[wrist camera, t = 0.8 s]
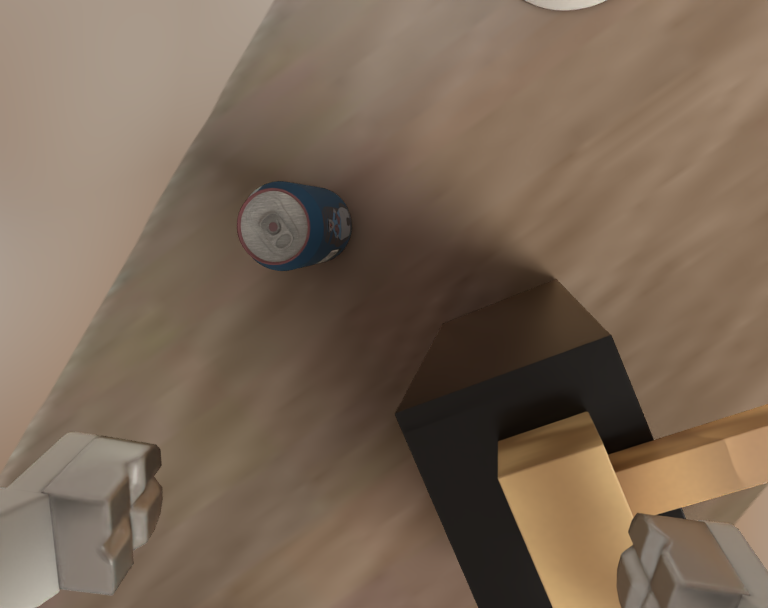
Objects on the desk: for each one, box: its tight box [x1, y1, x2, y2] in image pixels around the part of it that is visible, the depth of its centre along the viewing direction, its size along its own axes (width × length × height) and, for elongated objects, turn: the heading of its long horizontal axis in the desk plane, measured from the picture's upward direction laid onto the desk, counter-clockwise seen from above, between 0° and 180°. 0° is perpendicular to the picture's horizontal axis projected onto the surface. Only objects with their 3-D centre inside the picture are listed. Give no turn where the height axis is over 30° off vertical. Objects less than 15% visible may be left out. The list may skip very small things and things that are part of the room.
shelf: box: [395, 279, 686, 608], centre depth 41 cm, size 11×13×26 cm
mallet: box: [498, 404, 768, 608], centre depth 25 cm, size 15×7×4 cm, turn 114°
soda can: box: [237, 181, 352, 271], centre depth 50 cm, size 7×7×12 cm
